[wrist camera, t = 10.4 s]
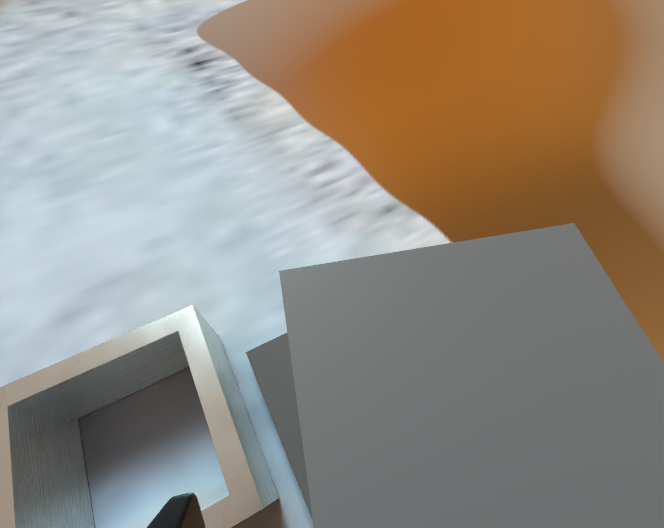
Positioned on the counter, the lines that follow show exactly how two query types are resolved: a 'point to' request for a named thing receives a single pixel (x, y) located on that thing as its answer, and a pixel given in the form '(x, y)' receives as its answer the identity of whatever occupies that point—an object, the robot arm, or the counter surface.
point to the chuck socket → (103, 389)
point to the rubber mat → (282, 401)
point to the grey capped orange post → (476, 389)
